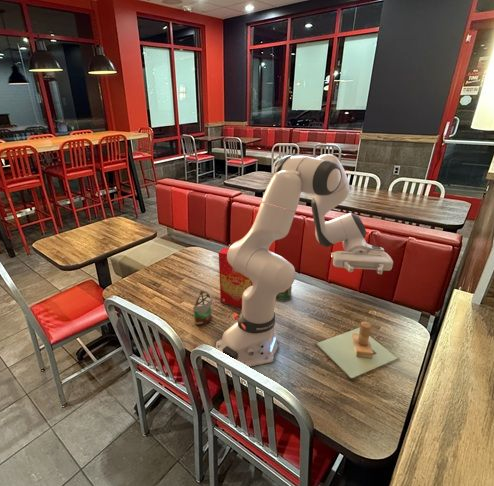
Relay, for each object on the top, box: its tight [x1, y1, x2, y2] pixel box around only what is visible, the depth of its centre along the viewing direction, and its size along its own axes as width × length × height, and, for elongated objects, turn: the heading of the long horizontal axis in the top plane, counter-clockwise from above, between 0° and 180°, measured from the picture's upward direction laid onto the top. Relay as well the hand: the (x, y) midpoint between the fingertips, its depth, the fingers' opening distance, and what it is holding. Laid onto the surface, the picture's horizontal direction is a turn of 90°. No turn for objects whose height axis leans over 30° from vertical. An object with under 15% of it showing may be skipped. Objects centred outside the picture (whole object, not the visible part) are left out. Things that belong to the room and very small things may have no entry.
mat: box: [316, 327, 398, 379], centre depth 108 cm, size 20×17×1 cm
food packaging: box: [218, 247, 253, 308], centre depth 132 cm, size 15×5×25 cm, turn 66°
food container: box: [192, 289, 213, 326], centre depth 127 cm, size 12×6×10 cm, turn 168°
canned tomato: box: [275, 284, 293, 302], centre depth 138 cm, size 8×8×11 cm
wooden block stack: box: [352, 321, 373, 358], centre depth 107 cm, size 9×5×10 cm, turn 167°
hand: (365, 271), depth 109 cm, fingers open, 8 cm apart
